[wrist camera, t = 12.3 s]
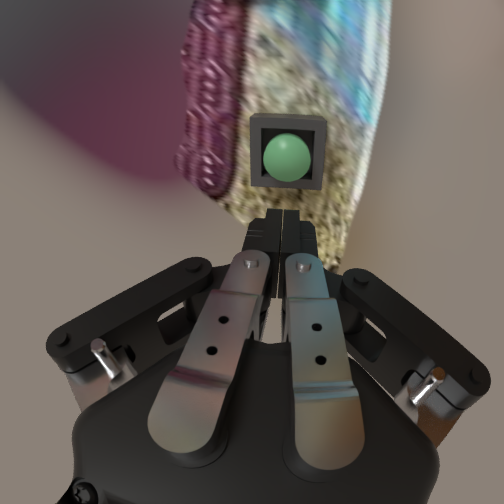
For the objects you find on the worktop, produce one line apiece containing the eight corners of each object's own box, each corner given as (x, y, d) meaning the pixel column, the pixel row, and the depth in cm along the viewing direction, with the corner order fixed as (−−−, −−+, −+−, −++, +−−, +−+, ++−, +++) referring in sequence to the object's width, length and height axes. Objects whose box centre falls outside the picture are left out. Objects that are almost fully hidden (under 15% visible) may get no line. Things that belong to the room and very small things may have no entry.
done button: (265, 132, 23) (263, 136, 21) (310, 134, 22) (311, 138, 21) (265, 173, 25) (263, 180, 24) (307, 175, 25) (309, 183, 23)
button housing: (254, 113, 25) (249, 117, 22) (322, 116, 24) (326, 121, 21) (255, 174, 29) (250, 186, 26) (318, 178, 28) (321, 190, 25)
